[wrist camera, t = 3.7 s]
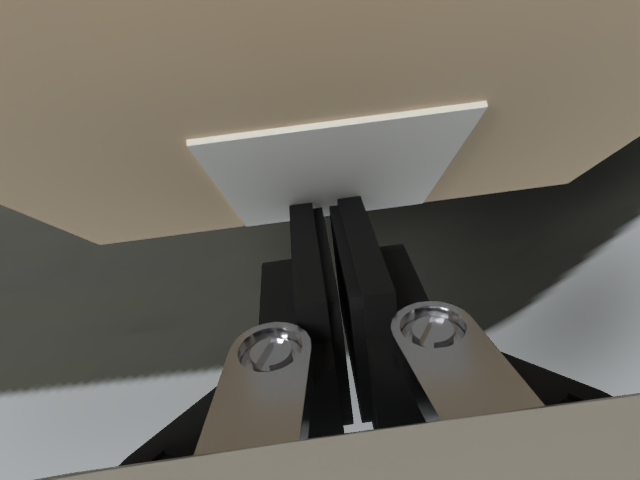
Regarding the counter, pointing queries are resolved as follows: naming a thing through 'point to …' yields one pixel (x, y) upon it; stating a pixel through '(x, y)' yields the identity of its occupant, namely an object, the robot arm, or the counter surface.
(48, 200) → the outer flap
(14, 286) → the counter surface
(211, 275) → the counter surface
